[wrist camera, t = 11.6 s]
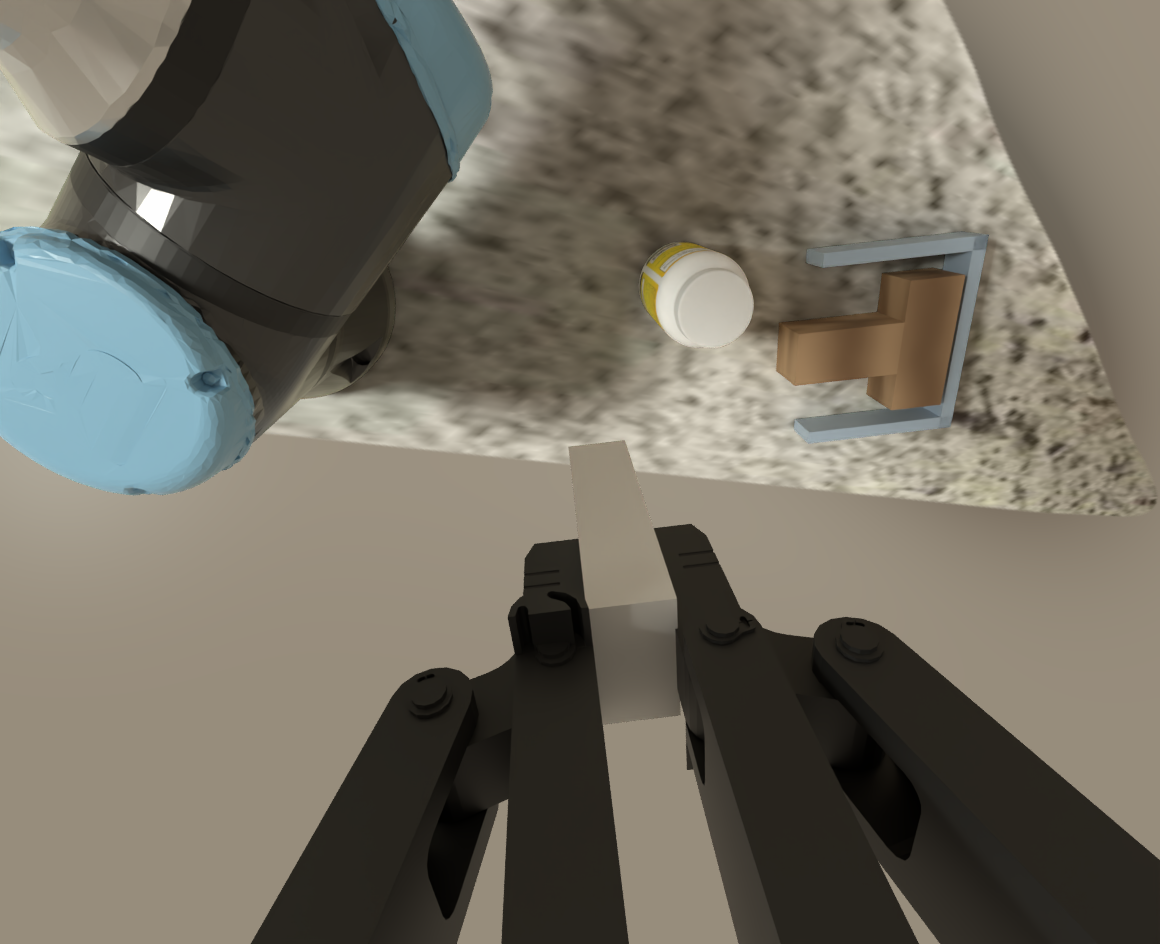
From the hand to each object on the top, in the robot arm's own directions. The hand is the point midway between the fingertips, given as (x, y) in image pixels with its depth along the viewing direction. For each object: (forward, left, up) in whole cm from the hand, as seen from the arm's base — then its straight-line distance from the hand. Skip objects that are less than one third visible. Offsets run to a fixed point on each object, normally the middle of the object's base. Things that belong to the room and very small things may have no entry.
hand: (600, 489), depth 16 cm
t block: (+23, -6, -33) cm, 40 cm away
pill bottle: (+9, 0, -33) cm, 34 cm away
